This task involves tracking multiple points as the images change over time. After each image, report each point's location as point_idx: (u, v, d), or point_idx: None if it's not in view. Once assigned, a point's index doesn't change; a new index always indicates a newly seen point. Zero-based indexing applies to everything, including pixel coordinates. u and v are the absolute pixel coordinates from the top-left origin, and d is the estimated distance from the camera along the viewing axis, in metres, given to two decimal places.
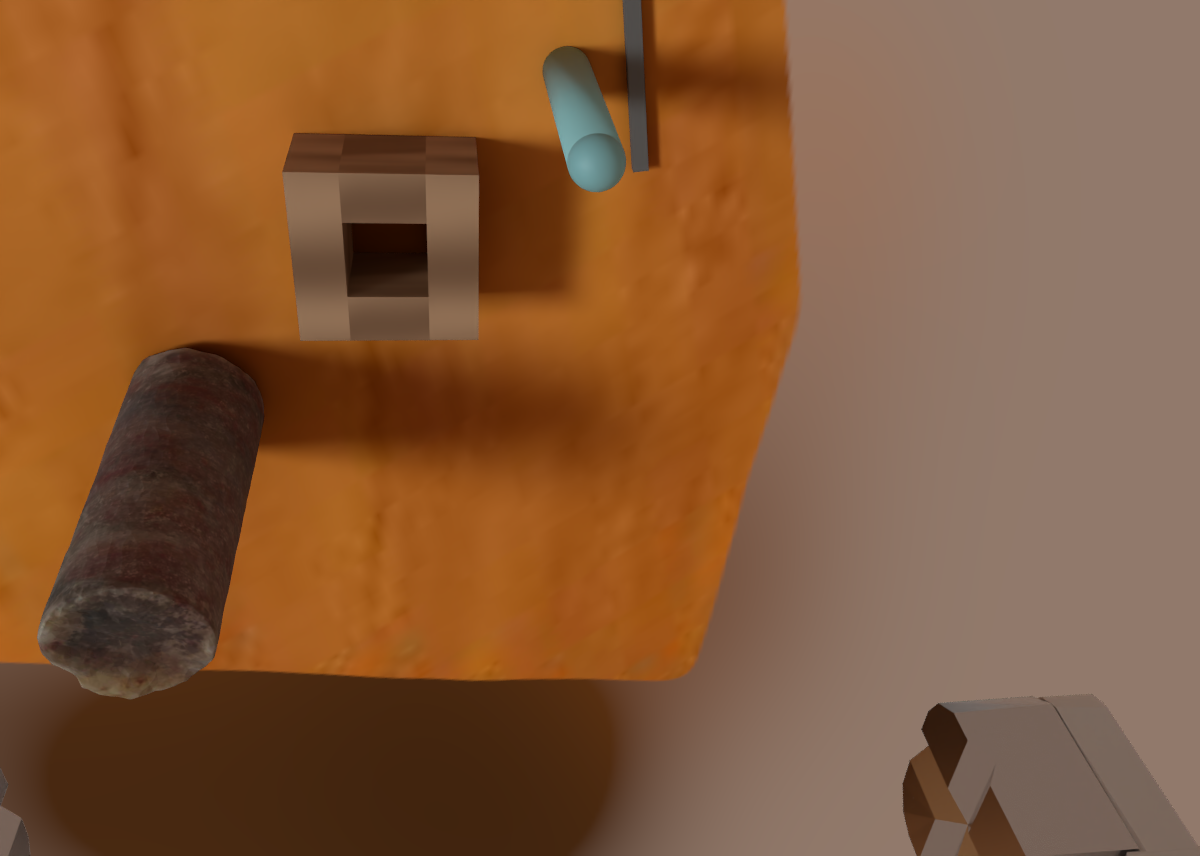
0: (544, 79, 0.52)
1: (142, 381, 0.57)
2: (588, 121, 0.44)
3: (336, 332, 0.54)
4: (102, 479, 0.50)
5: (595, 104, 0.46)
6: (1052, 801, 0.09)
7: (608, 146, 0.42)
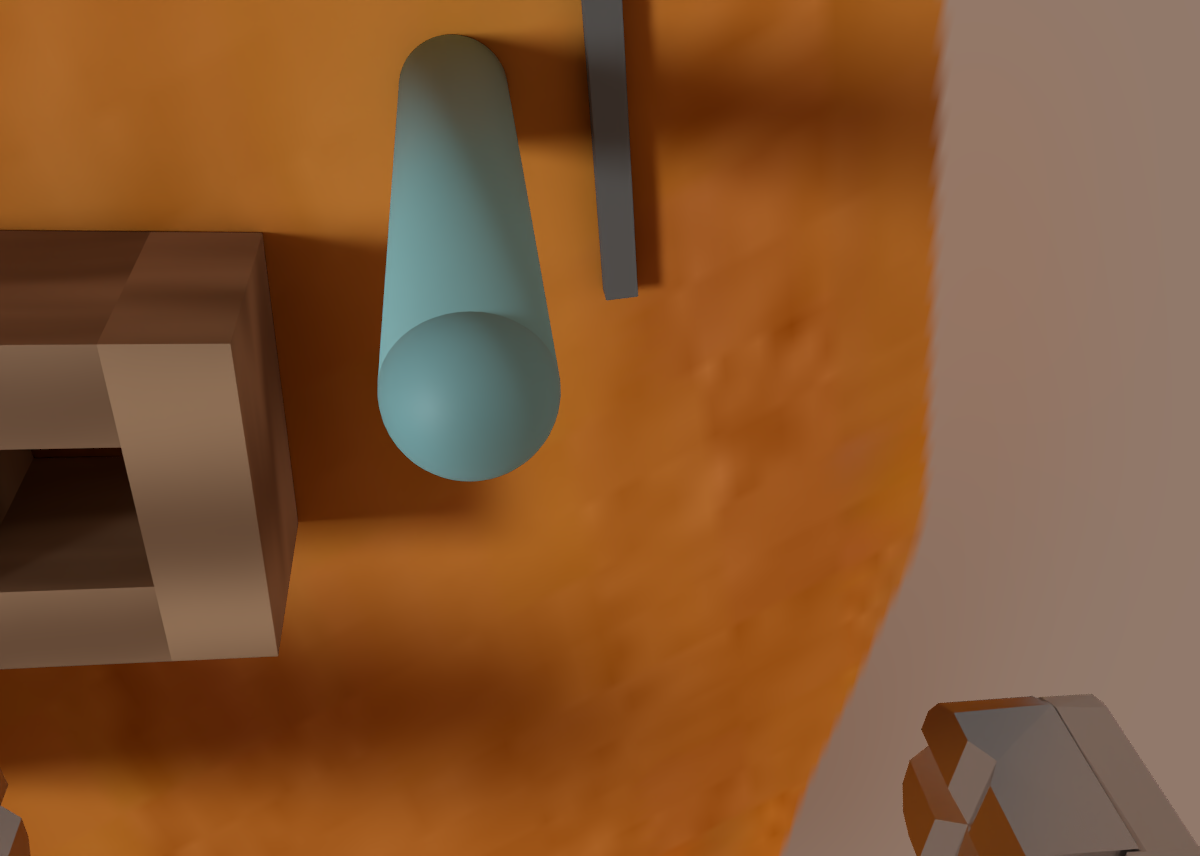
0: None
1: None
2: (448, 261, 0.15)
3: None
4: None
5: (484, 197, 0.16)
6: (1052, 801, 0.09)
7: (498, 359, 0.13)
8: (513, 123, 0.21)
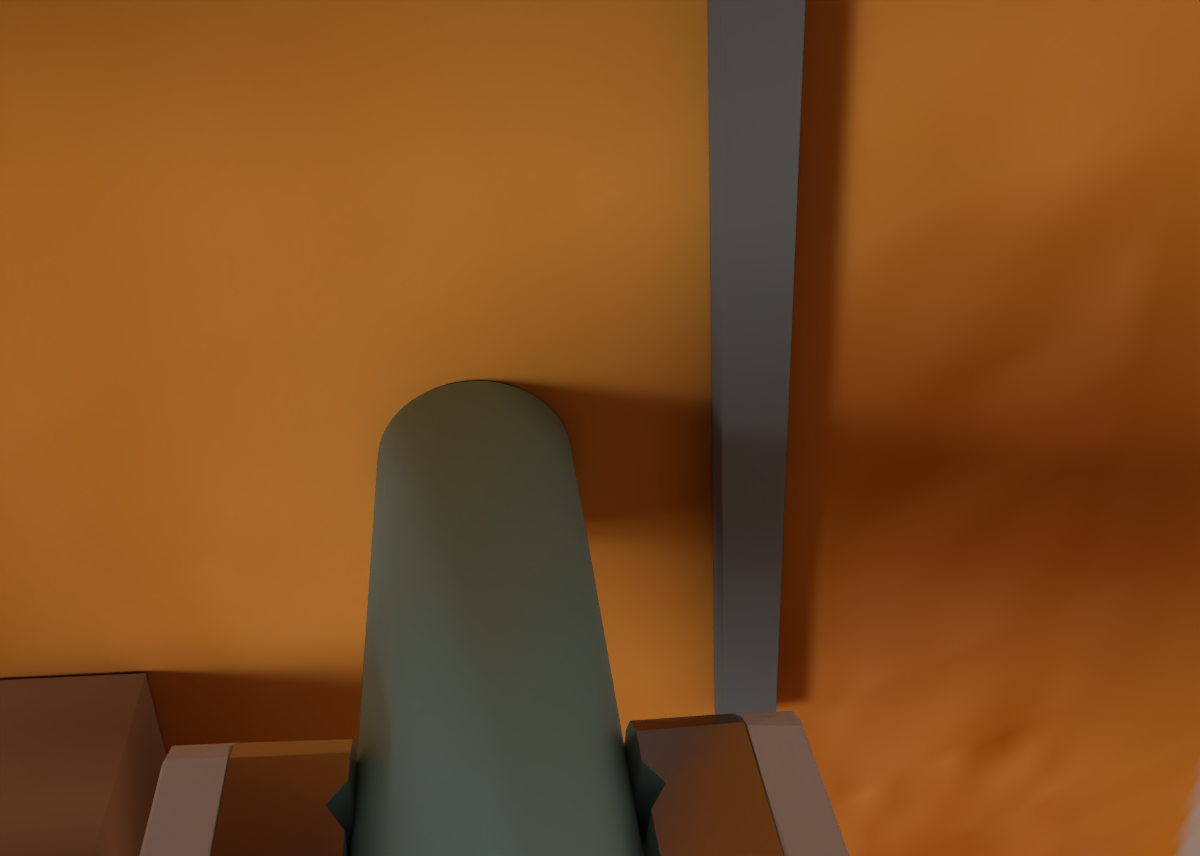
0: None
1: None
2: None
3: None
4: None
5: None
6: (712, 825, 0.08)
7: None
8: (600, 622, 0.11)
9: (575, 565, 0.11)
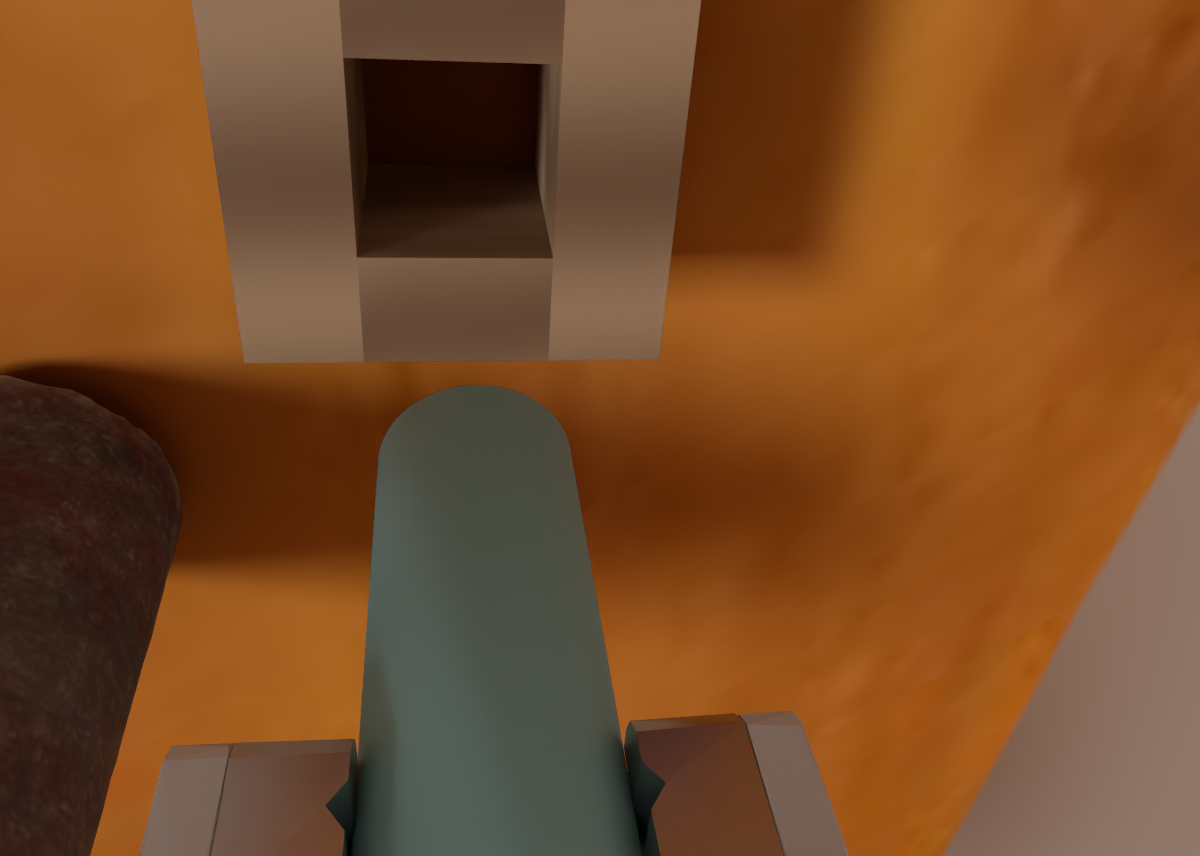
0: None
1: None
2: None
3: (329, 342, 0.23)
4: None
5: None
6: (712, 826, 0.08)
7: None
8: (599, 626, 0.11)
9: (574, 569, 0.11)
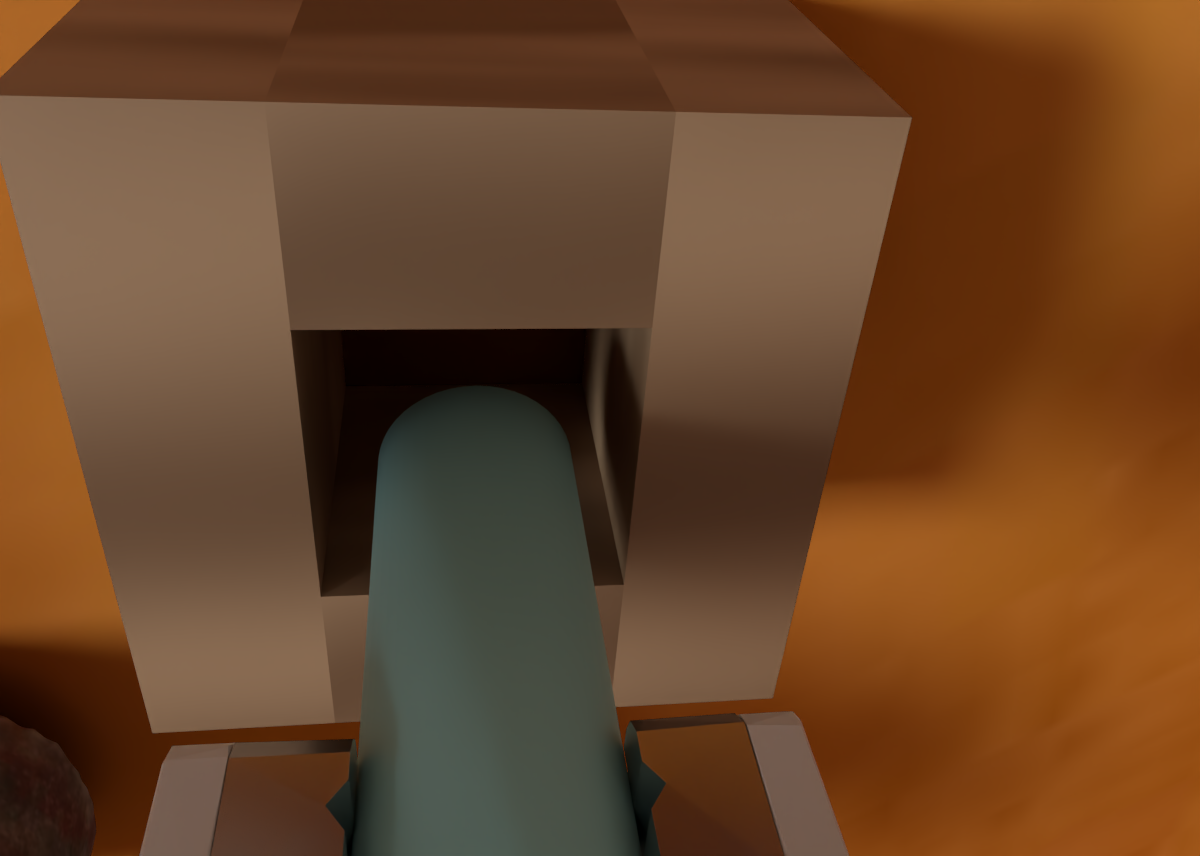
0: None
1: None
2: None
3: (282, 702, 0.15)
4: None
5: None
6: (712, 826, 0.08)
7: None
8: (599, 627, 0.11)
9: (574, 570, 0.11)
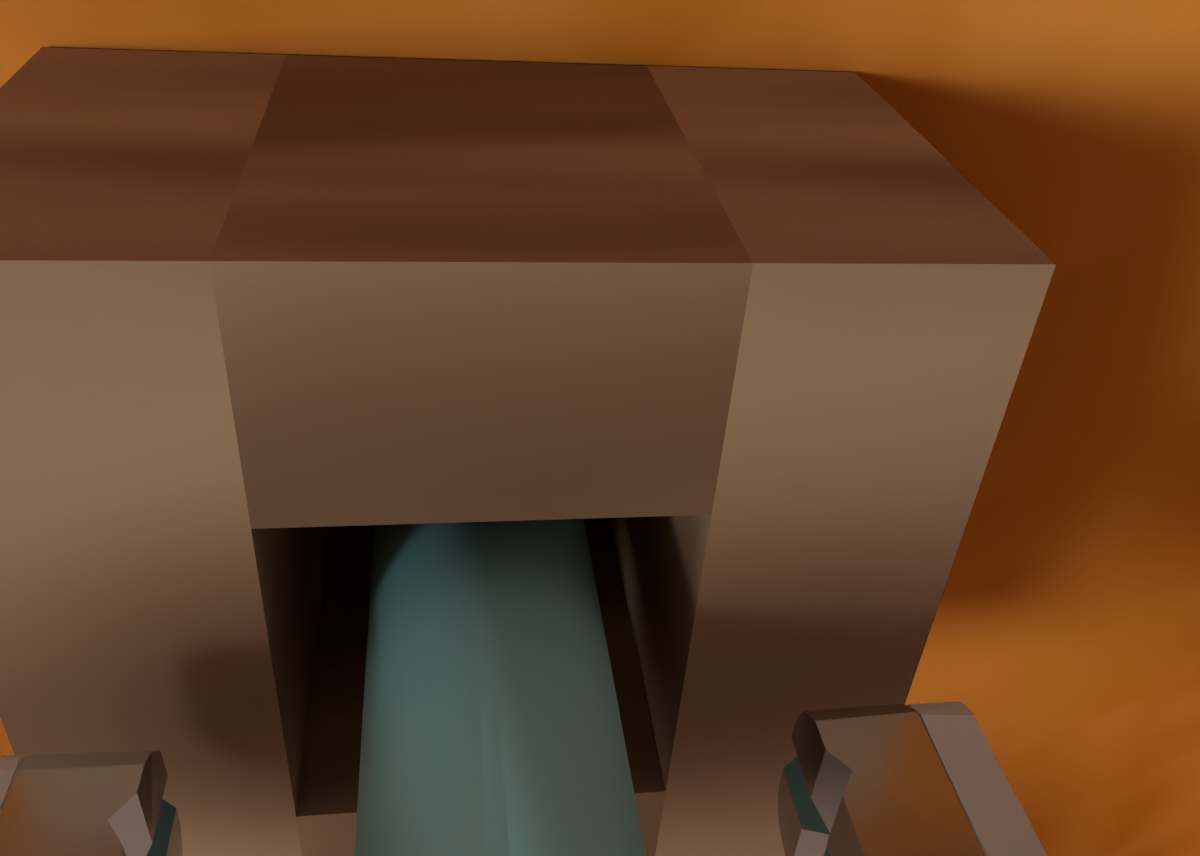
0: None
1: None
2: None
3: None
4: None
5: None
6: (904, 812, 0.08)
7: None
8: (583, 526, 0.12)
9: None
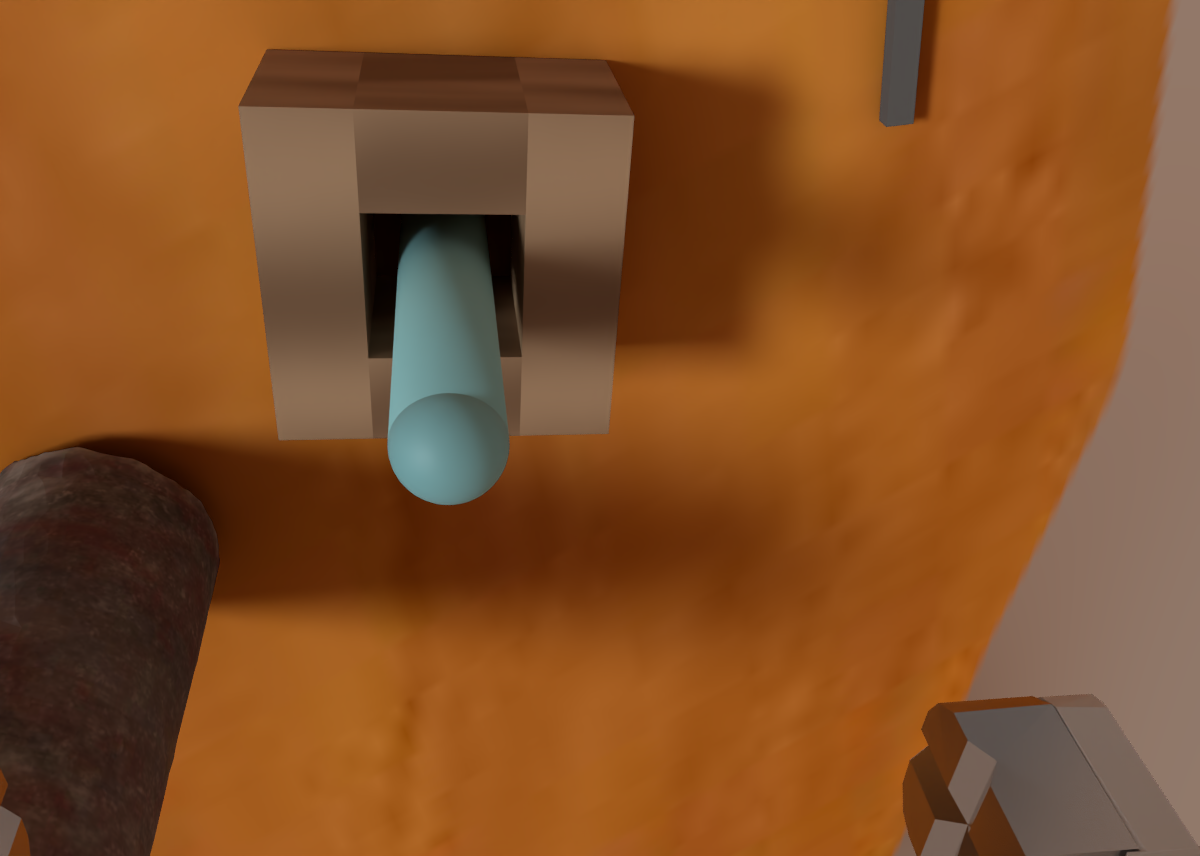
0: None
1: None
2: (435, 358, 0.22)
3: (346, 423, 0.29)
4: None
5: (460, 310, 0.24)
6: (1052, 801, 0.09)
7: (466, 424, 0.20)
8: (486, 245, 0.28)
9: (477, 227, 0.29)
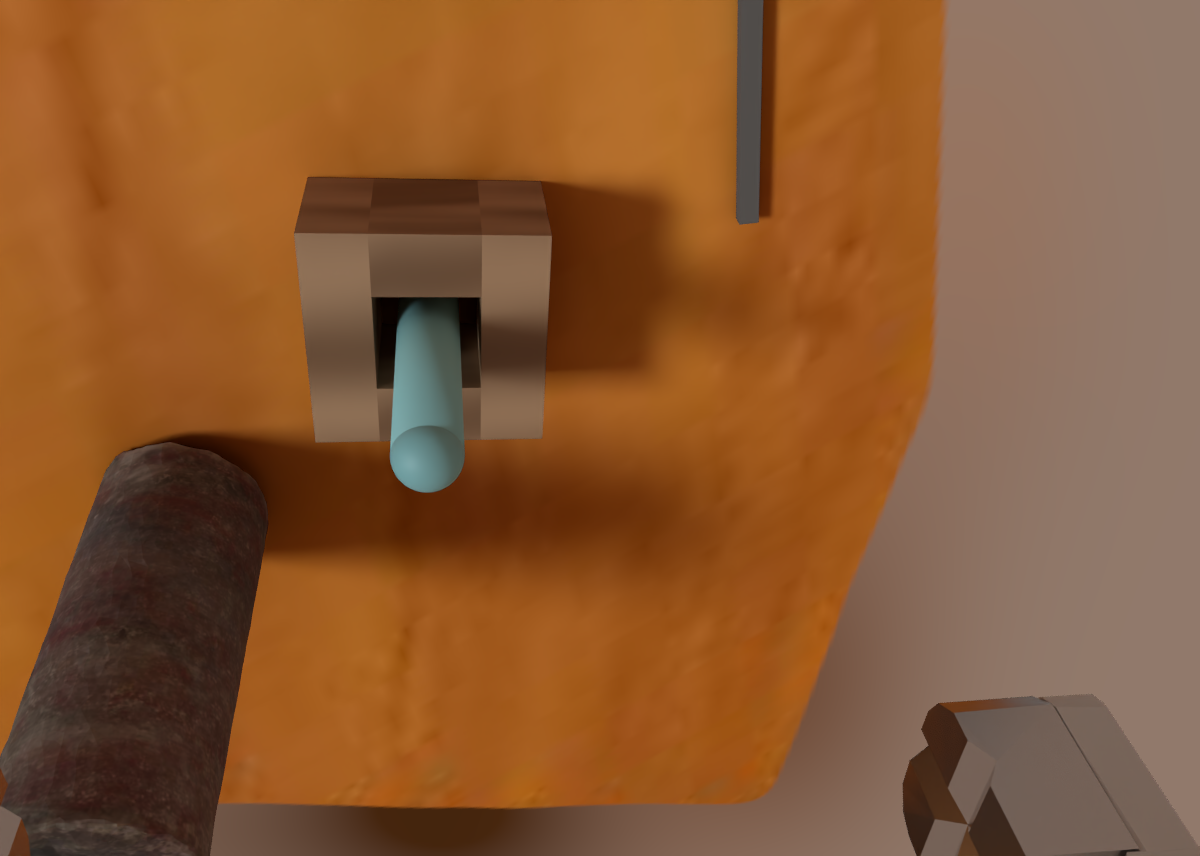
0: None
1: (113, 489, 0.44)
2: (419, 401, 0.35)
3: (361, 431, 0.42)
4: (56, 636, 0.38)
5: (436, 366, 0.37)
6: (1052, 801, 0.09)
7: (437, 445, 0.34)
8: (457, 311, 0.42)
9: (451, 298, 0.42)
